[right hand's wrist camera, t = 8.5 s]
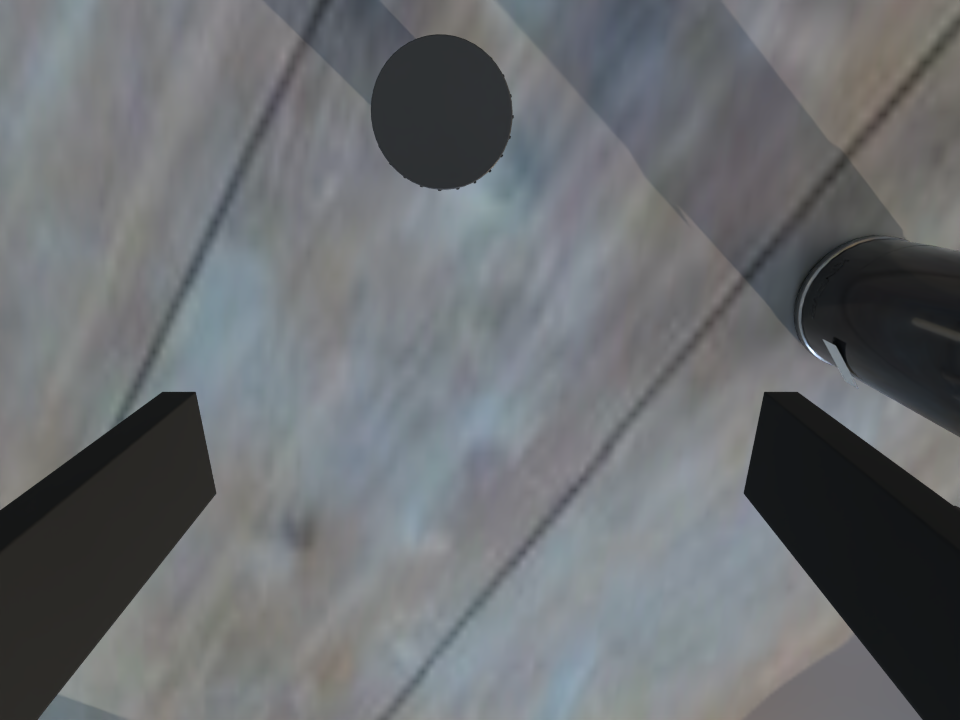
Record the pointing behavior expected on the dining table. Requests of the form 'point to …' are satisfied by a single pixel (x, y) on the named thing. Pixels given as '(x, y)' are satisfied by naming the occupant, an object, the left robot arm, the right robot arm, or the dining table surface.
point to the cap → (441, 112)
